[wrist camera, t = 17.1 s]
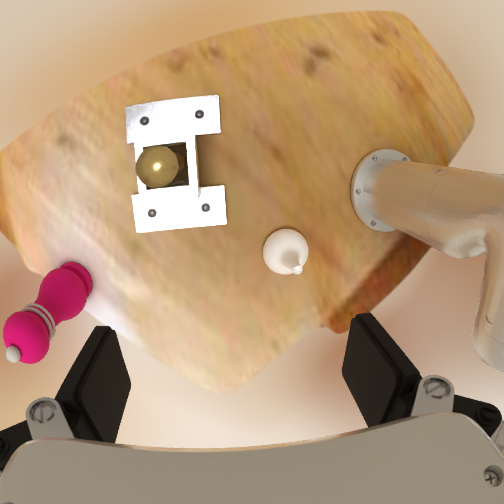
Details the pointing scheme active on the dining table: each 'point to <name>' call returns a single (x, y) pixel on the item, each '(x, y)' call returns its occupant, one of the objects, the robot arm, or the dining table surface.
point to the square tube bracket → (177, 195)
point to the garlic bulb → (285, 251)
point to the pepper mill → (46, 313)
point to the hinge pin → (158, 166)
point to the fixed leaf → (173, 119)
